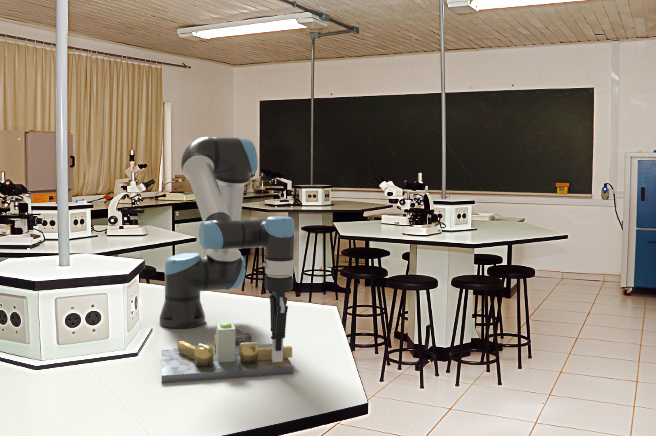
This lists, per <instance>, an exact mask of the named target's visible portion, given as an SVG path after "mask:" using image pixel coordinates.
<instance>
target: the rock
mask: <svg viewBox="0 0 656 436" xmlns="http://www.w3.org/2000/svg"><path fill="white" fill-rule="evenodd" d="M215 335H216V330H215V331H214V333H213V336H212V337H213V339H214V336H215ZM252 339H253V337H252V334H251V332H243V331H242V330H240V329H237V328H235V346H240V344H241V343H246V342H252Z"/></svg>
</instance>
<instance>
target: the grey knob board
mask: <svg viewBox="0 0 656 436" xmlns="http://www.w3.org/2000/svg"><path fill="white" fill-rule="evenodd" d="M213 336H214V335H213ZM213 347H214V362H213V363H212V364H210V365H197V364H195V359H193V358H191V357H189V356H186V355H184V354H182V353H180V352H178V348H177V349H176V348H175V349H174V348H173V349H172V348H171V349H161V351H160V352H161V358H160V359H161V384H169V383H181V382H197V381H208V380H209V381H210V380H225V379H227V380H228V379H239V378H252V377H253V378H255V377H264V376H265V377H268V376H280V375H282V376H283V375H293V374H294V365H293V364H292V362H291V359H289V358H283V362H272V359H260V360H257V361H255V362H242V361H240V360H239V353H240V346H235V361H231V362H218V361H217V357H216V335H215V336H214V338H213ZM267 347H272V343H264V344H262V343H260V344H258V348H267Z"/></svg>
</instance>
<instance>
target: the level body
mask: <svg viewBox="0 0 656 436" xmlns="http://www.w3.org/2000/svg"><path fill="white" fill-rule="evenodd" d="M215 327H216V328H215V331H216V357H217V361H218V362H231V361H235V329H236V326H235V324H234V323H233V322H221V323H216V324H215Z"/></svg>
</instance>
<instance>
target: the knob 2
mask: <svg viewBox="0 0 656 436" xmlns="http://www.w3.org/2000/svg"><path fill="white" fill-rule="evenodd" d="M258 345H259V344H258V342H257V341H255V342H252V341H251V342H246V343H241V344H240V353H239V360H240V361H242V362H255V361H257V360H260V359H272V347H267V348H258ZM283 358H288V359H289V358H293V346H292V345H288V346H287V345H285V346H284V345H283Z"/></svg>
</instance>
